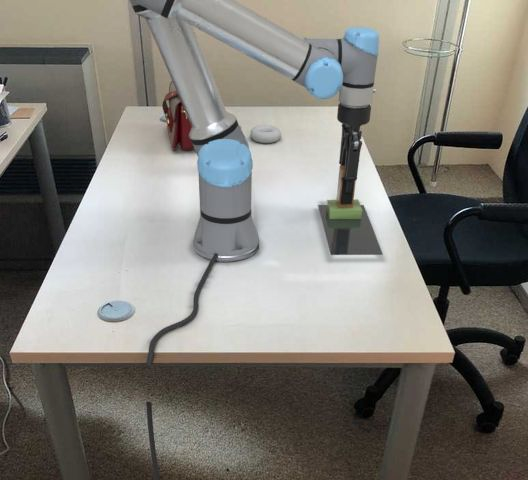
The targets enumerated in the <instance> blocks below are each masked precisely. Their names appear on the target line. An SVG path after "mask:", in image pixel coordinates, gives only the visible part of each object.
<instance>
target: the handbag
mask: <svg viewBox="0 0 528 480" xmlns="http://www.w3.org/2000/svg"><path fill="white" fill-rule="evenodd" d="M167 101H168V104H167ZM168 105H169V106H168ZM161 106H162V110H163V114H164V116H165V123H166V128H167V133H168V137H169V141H170V147H171V149H172V151H175V150H176V149H177V147H178V146H180V149H181V150H182V151H191V150H192V151H193V150H194V147H193V144H192V142H191V140H190V137H189V133H190V131H191V128H192V125H191V123H190V121H189V118H188V116H187V114H186V111H185V109H184V107H183V105H182V102H181V100H180V98H179V95H178V93H177V91H176V88H175V86H174V84H173V81H172V80H171V81H170V83H169V86H168V93H166V94H165V96H164V99H163V101H162V105H161Z"/></svg>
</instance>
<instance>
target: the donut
mask: <svg viewBox="0 0 528 480" xmlns="http://www.w3.org/2000/svg"><path fill="white" fill-rule="evenodd" d="M249 133H250V134H249V136H250V138H251V139H252V140H253V141H254V142H255V143H256V142H257V143H260V144H272V143H276V142H278V141H279V140H280V139H281V137H282V132H281V130H280V129H279V128H278V127H277V126H274V125H268V124H262V125H261V124H260V125H256V126H253V128H252V129H251V130H250V131H249Z"/></svg>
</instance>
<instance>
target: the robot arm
mask: <svg viewBox="0 0 528 480" xmlns="http://www.w3.org/2000/svg"><path fill="white" fill-rule="evenodd" d="M129 3H130V5H131V8H132V10H133V12H134V14H135V15H137V16H139V17H141V18H143V19H144V20H145V21H146V23H147V25H148V28H149V30H150V33H151V35H152V37H153V40H154V42H155V44H156V46H157V49H158V51H159V54H160V55H161V59H162V60H163V63H164V65H165V67H166V70H167V72H168V74H169V77H170V79H171V81H173V84H174V86H175V88H176V91H177V93H178V95H179V98H180V100H181V102H182V105H183V107H184V109H185V111H186V114H187V116H188V118H189V121H190V123H191V125H192V128H191V131H190V133H189V137H190V140H191V142H192V144H193V147H194V148H193V150H194V151H195V153H196V156H197V160H196V167H197V172H198V191H199V192H198V193H199V195H198V196H199V213H200V215H199V219H198V223H197V226H196V229H195V233H194V236H193V249H194V251H195V253H197V254H198V255H199V256H200V257H202V258H204V259H206V260H209V262H208V265H207V266H206V269H205V271H204V272H203V274H202V277H201V279H200V280H199V282H198V284H197V287H196V290H195V292H194V294H193V308H192V311H191V313H190V314H189V315H188V316H187V317H186V318H184V319H182V320H180V321H177V322H175V323H172V324H170V325H167V326H165V327H163V328H162V329H160V330H159V331H158V332H157V333H156V334H155V335H154V336H153V337H152V338H151V340H150V342H149V346H148V353H147V359H146V366H147V367H151V366H152V365H153V361H154V355H155V354H154V353H155V347H156V344H157V342H158V340H159V339H160V338H161V337H162V336H164V335H166V333H169V332H170V331H174V330H175V329H178V328H181V327H183V326H185V325H187V324H188V323H190V322H191V321H192V320H194V318H195V317H196V316H197V314H198V312H199V297H200V294H201V291H202V289H203V286H204V284H205V282H206V281H207V279H208V277H209V274H210V272H211V270H212V268H213V266H214V264H215V263H216V262H220V263H221V262H222V263H231V262H238V261H243V260H245V259H248V258H250V257H252V256H254V255H255V254H256V253H257V252H258V250H259V248H260V239H259V234H258V231H257V229H256V225H255V223H254V220H253V216H252V200H253V199H252V198H253V197H252V194H253V193H252V189H253V188H252V187H253V186H252V184H253V182H252V181H253V179H252V177H253V176H252V175H253V171H252V170H253V168H254V167H253V165H254V163H253V162H254V161H253V158H252V152H251V150H250V145H249V141H248V138H247V137H246V136H245V134H244V132H243V130H242V129H240V127H239V125H240V124H239V122H238V120H237V117H236V114H233V113H231V112H229V111H227V109H226V107H225V104H224V101H223V99H222V97H221V94H220V91H219V89H218V85H217V84H216V81H215V79H214V76H213V73H212V71H211V68H210V66H209V63H208V61H207V58H206V56H205V54H204V50H203V48H202V45H201V43H200V40H199V37H198V35H197V32H196V29H197V30H198V31H201V32H203V33H205V34H207V35H208V36H210V37H212V38H214V39H216V40H218V41H220V42H221V43H223V44H225V45H227V46H229V47H230V48H233V49H234V50H236V51H238V52H240V53H242V54H243V55H245V56H247V57H249V58H251V59H253V60H254V61H256V62H258V63H260V64H262V65H264V66H266V67H267V68H269V69H271V70H273V71H275V72H276V73H279V74H280V75H282V76H284V77H286V78H288V79H290V80H292V81H293V82H295V83H296V84H298V85H300V86H302V87H304V88H305V89H306V90H307V92H308V93H309V94H310V95H311V96H313V98H316V99H318V100H329V99H332V98H333V97H335V96H336V95H337V94H338V102H339V103H338V105H337V112H336V113H337V115H336V119H337V121H338V122H339V123H340V124H341V138H340V149H339V150H340V151H339V160H338V164H339V167H340V166H345V173H344V177H341V180H343V182H342V192H341V201H340V203H341V204H352V197H353V188H354V180H356V181H357V179H358V171H359V166H360V165H359V163H360V157H361V151H362V146H363V141H362V137H363V136H362V135H363V131H362V130H361V126H365V125H367V124H369V122H370V120H371V112H372V106H371V104H372V101H373V94H375V93H376V91H377V90H376V88H374V85H375V77H376V72H377V71H376V70H377V65H378V64H377V63H378V56H379V54H380V53H379V45H380V35H379V32H378V31H377V30H375V28H372V27H371V28H370V27H364V26H355V27H348V28H347V29H346V30H345V31H344V35H343V38H308V37H303V38H301V37H300V36H297V35H296V34H294V33H293V32H292V31H291V32H290V31H289V30H287V29H286V28H284V27H282V26H280V25H279V24H277V23H275V22H273V21H272V20H270V19H268V18H266V17H264V16H263V15H261V14H259V13H258V12H256V11H255V10H253V9H251V8H249V7H247V6H245V5H244V4H242V3H240V2H238V1H237V0H129ZM195 28H196V29H195ZM241 130H242V131H241ZM242 132H243V133H242ZM145 403H146V404H145V406H146V421H147V422H146V423H147V432H148V441H149V448H150V456H151V463H152V470H153V477H154V480H161V479H160V472H159V464H158V456H157V449H156V442H155V434H154V433H155V432H154V423H153V422H154V421H153V405H152V404H153V403H152V402H151V401H146V402H145Z"/></svg>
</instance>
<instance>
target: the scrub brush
mask: <svg viewBox="0 0 528 480" xmlns="http://www.w3.org/2000/svg"><path fill="white" fill-rule="evenodd" d="M338 169H339V170H338V180H337V190H336V199H326V204H325V205H326V210H327V213H328V216H329V219H361V216H362V208H361V206H360V205H361V203H360V201H359V199H355V190H356V182H357V180H354V188H353V197H352V204H341V203H340V201H341V192H342V182H343V180H341V177H344V173H345V166H340V165H339V168H338Z"/></svg>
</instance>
